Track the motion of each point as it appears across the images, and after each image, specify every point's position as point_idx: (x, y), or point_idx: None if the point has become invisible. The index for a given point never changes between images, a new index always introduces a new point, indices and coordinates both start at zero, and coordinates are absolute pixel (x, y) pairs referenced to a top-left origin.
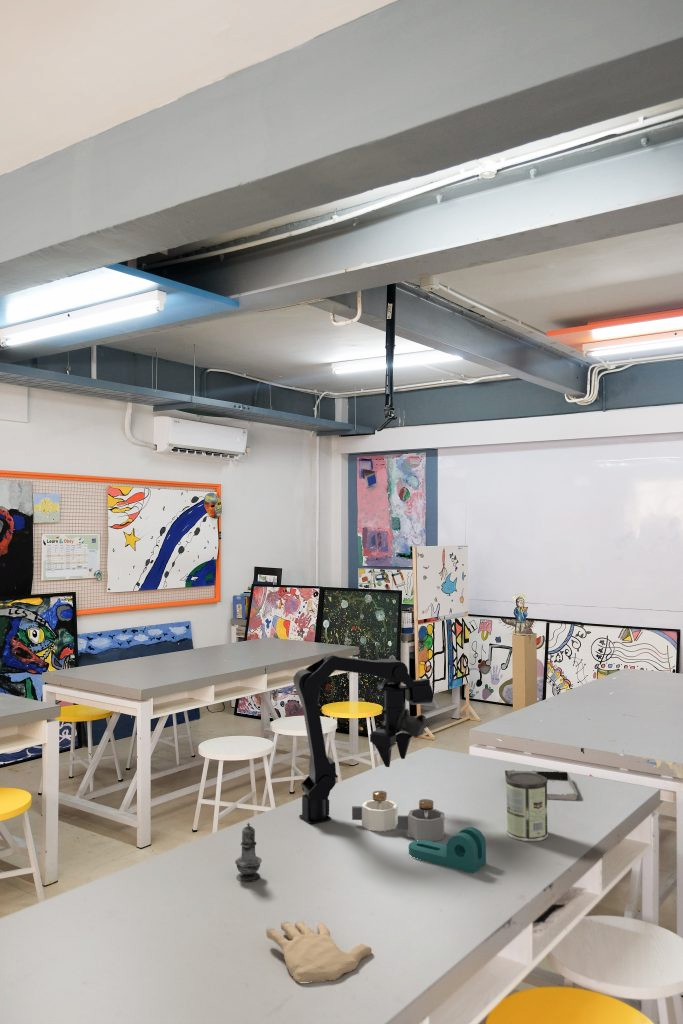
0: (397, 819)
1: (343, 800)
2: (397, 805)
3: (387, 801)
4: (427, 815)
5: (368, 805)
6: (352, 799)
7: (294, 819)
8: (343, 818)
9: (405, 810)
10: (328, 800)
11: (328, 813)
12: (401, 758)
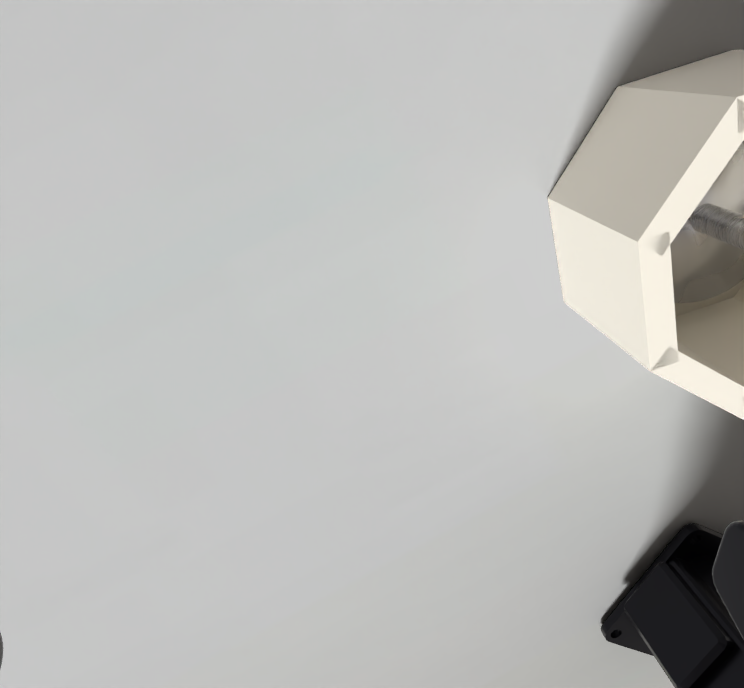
0: (641, 88)
1: (313, 654)
2: (727, 95)
3: (664, 246)
4: None
5: (723, 372)
6: (260, 627)
7: None
8: (632, 481)
9: (258, 184)
10: (728, 640)
11: (672, 570)
12: (1, 641)
